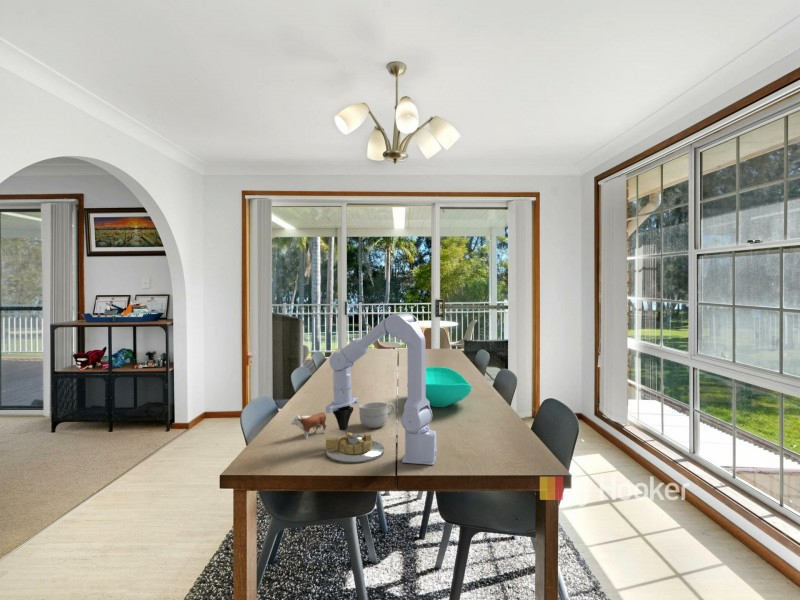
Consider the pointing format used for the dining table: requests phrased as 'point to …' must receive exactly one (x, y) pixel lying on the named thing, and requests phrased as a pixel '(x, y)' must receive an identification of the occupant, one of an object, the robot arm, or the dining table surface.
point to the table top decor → (445, 386)
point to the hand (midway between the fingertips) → (343, 429)
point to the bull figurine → (310, 422)
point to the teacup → (374, 414)
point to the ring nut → (347, 448)
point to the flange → (356, 458)
